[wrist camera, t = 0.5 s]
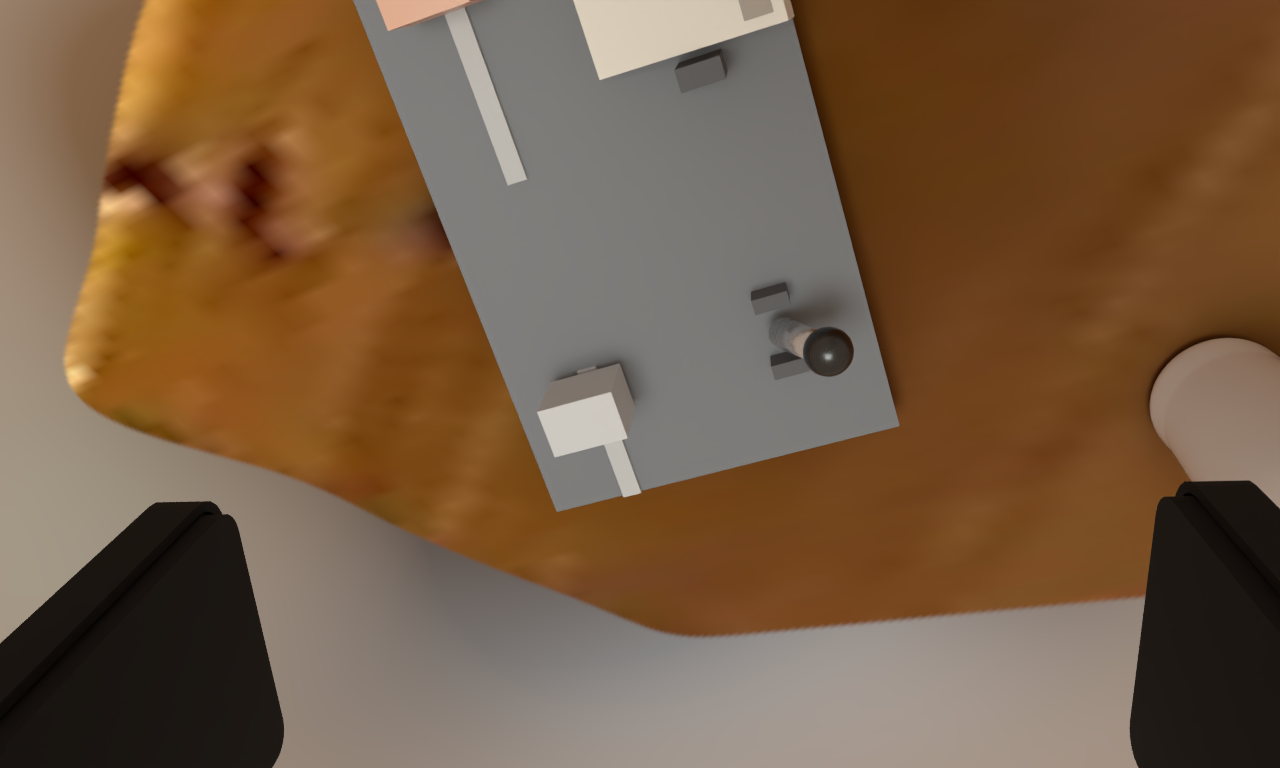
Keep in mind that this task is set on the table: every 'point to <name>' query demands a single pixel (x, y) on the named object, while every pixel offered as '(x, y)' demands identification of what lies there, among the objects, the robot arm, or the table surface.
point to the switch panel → (640, 235)
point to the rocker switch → (667, 27)
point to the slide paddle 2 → (587, 410)
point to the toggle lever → (814, 345)
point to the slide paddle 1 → (417, 10)
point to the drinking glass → (1222, 412)
